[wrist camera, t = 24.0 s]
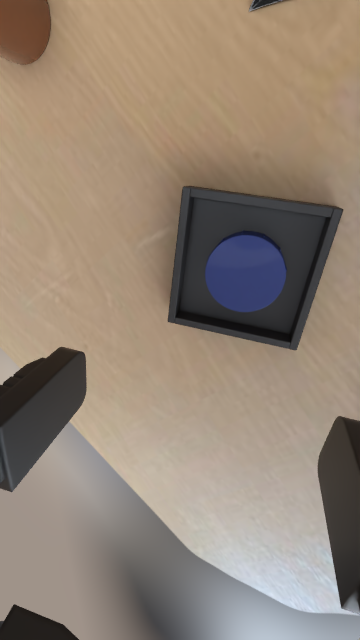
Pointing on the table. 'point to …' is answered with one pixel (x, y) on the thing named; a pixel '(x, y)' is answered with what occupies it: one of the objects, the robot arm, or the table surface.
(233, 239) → the lid
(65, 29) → the table surface
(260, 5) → the knife
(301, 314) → the tray
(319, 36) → the table surface
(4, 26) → the jar
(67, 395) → the robot arm
